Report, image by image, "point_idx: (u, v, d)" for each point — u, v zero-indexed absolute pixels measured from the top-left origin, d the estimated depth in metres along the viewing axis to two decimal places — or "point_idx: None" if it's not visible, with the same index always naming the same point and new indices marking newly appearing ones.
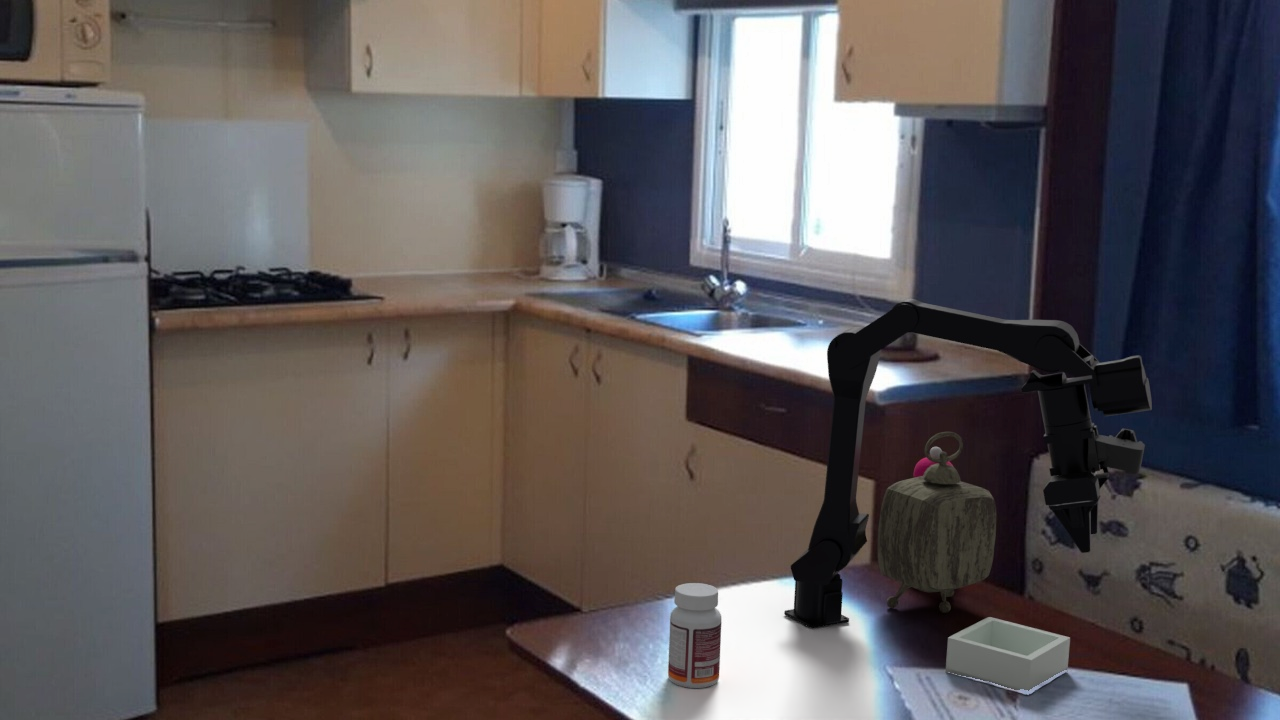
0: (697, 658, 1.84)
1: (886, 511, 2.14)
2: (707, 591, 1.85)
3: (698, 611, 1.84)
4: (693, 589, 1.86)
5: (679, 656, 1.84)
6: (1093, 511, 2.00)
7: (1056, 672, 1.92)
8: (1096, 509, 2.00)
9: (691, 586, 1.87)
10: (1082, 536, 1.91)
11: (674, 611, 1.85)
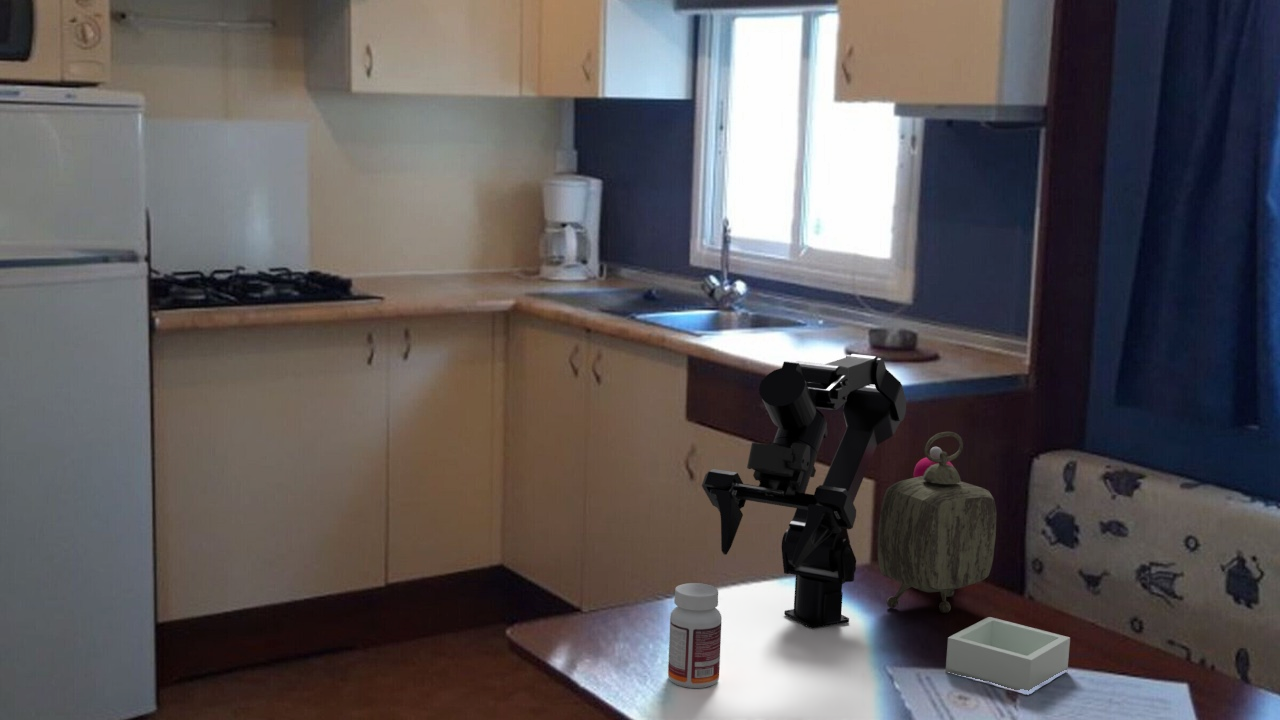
0: (697, 658, 1.84)
1: (886, 511, 2.14)
2: (707, 591, 1.85)
3: (698, 611, 1.84)
4: (693, 589, 1.86)
5: (679, 656, 1.84)
6: None
7: (1056, 672, 1.92)
8: (799, 539, 1.88)
9: (691, 586, 1.87)
10: None
11: (674, 611, 1.85)
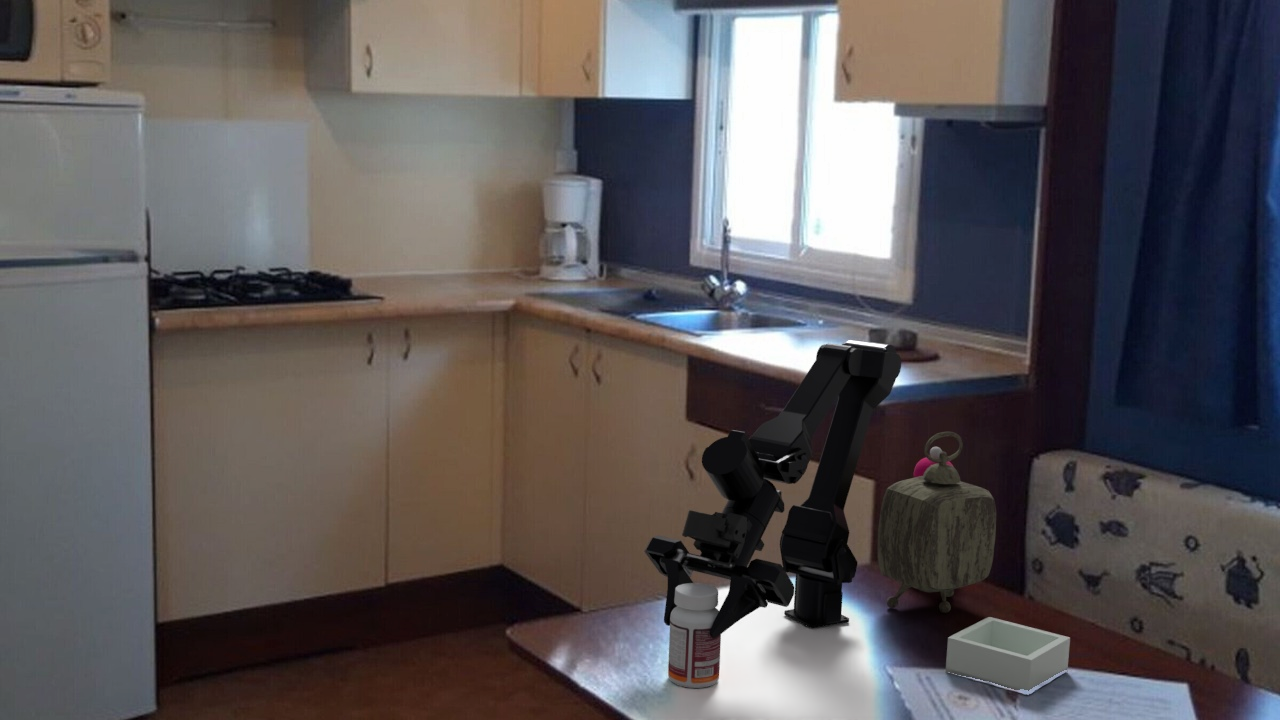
0: (697, 658, 1.84)
1: (886, 511, 2.14)
2: (707, 590, 1.85)
3: (698, 611, 1.84)
4: (693, 589, 1.86)
5: (679, 655, 1.84)
6: None
7: (1056, 672, 1.92)
8: (720, 609, 1.84)
9: (691, 586, 1.87)
10: None
11: (674, 611, 1.85)
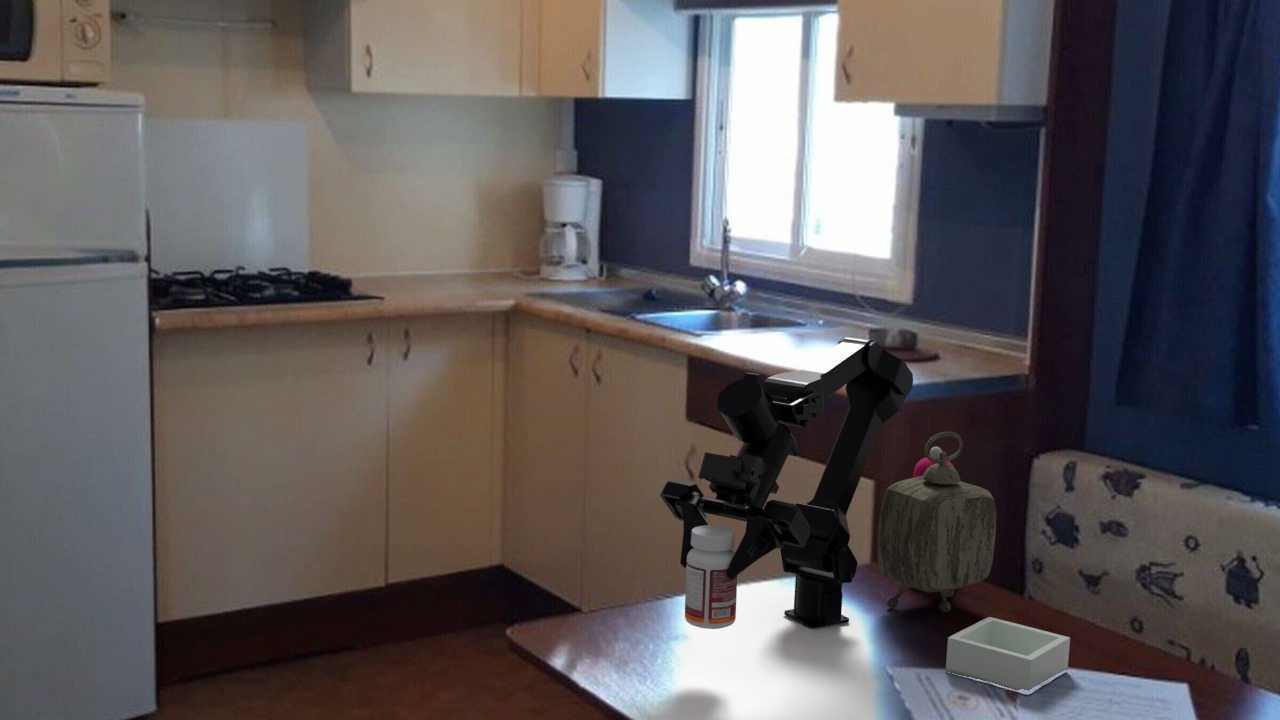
0: (714, 599, 1.85)
1: (886, 511, 2.14)
2: (723, 532, 1.86)
3: (715, 552, 1.84)
4: (709, 530, 1.86)
5: (696, 597, 1.85)
6: None
7: (1056, 672, 1.92)
8: None
9: (707, 528, 1.87)
10: None
11: (691, 552, 1.86)
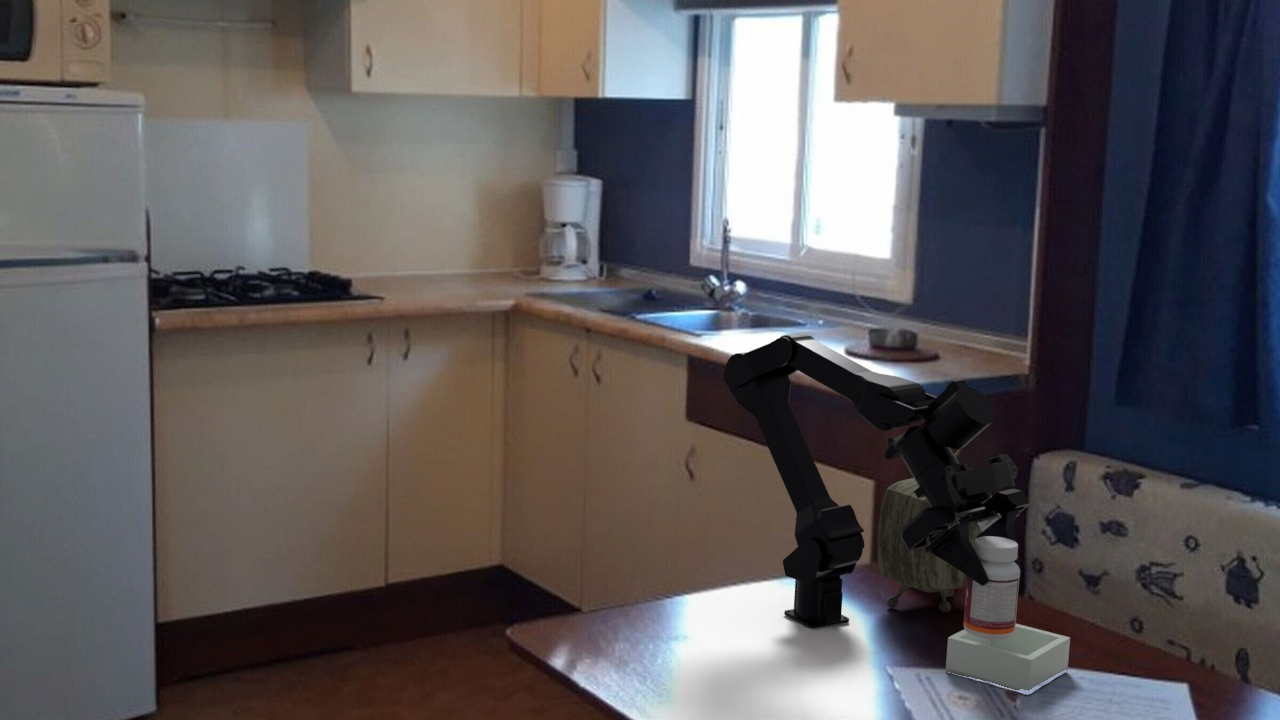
0: None
1: (886, 511, 2.14)
2: (999, 540, 1.89)
3: None
4: (994, 543, 1.87)
5: (1012, 608, 1.86)
6: None
7: (1056, 672, 1.92)
8: None
9: (986, 542, 1.87)
10: (972, 568, 1.86)
11: (998, 569, 1.85)
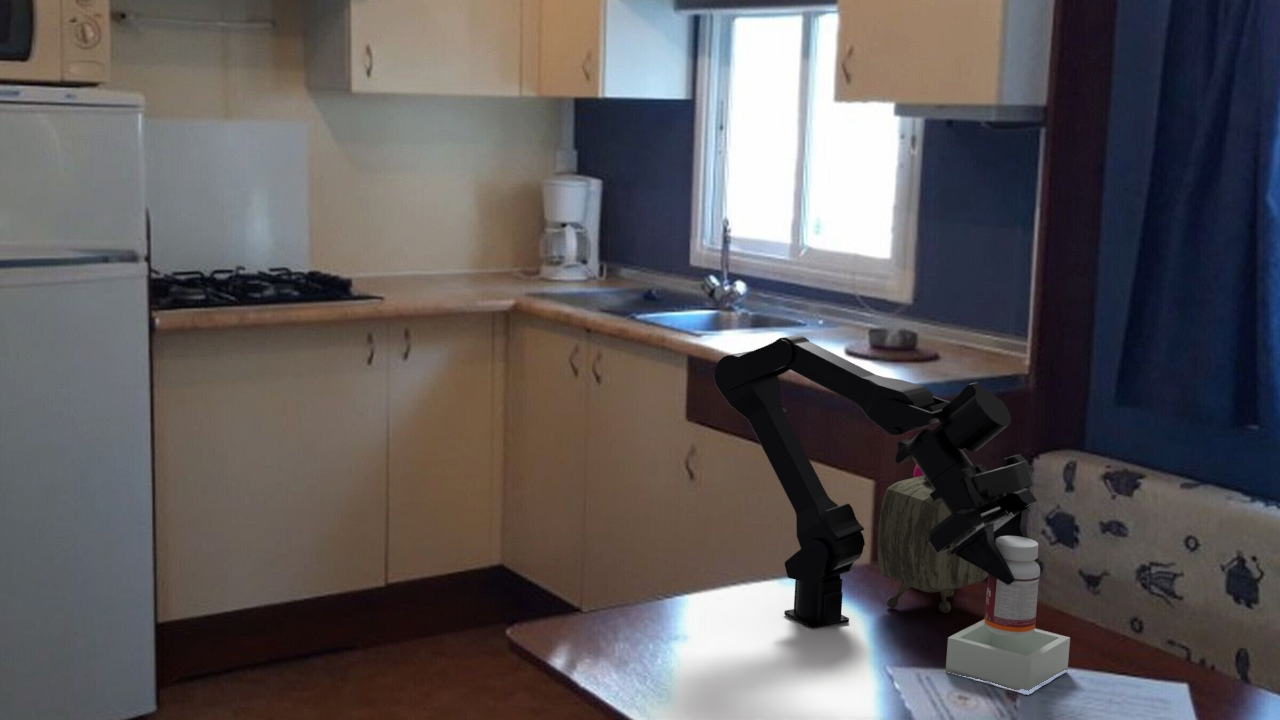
0: None
1: (886, 511, 2.14)
2: (1017, 539, 1.92)
3: None
4: (1016, 542, 1.91)
5: (1034, 605, 1.90)
6: None
7: (1056, 672, 1.92)
8: None
9: (1008, 542, 1.90)
10: (998, 568, 1.88)
11: (1023, 568, 1.89)
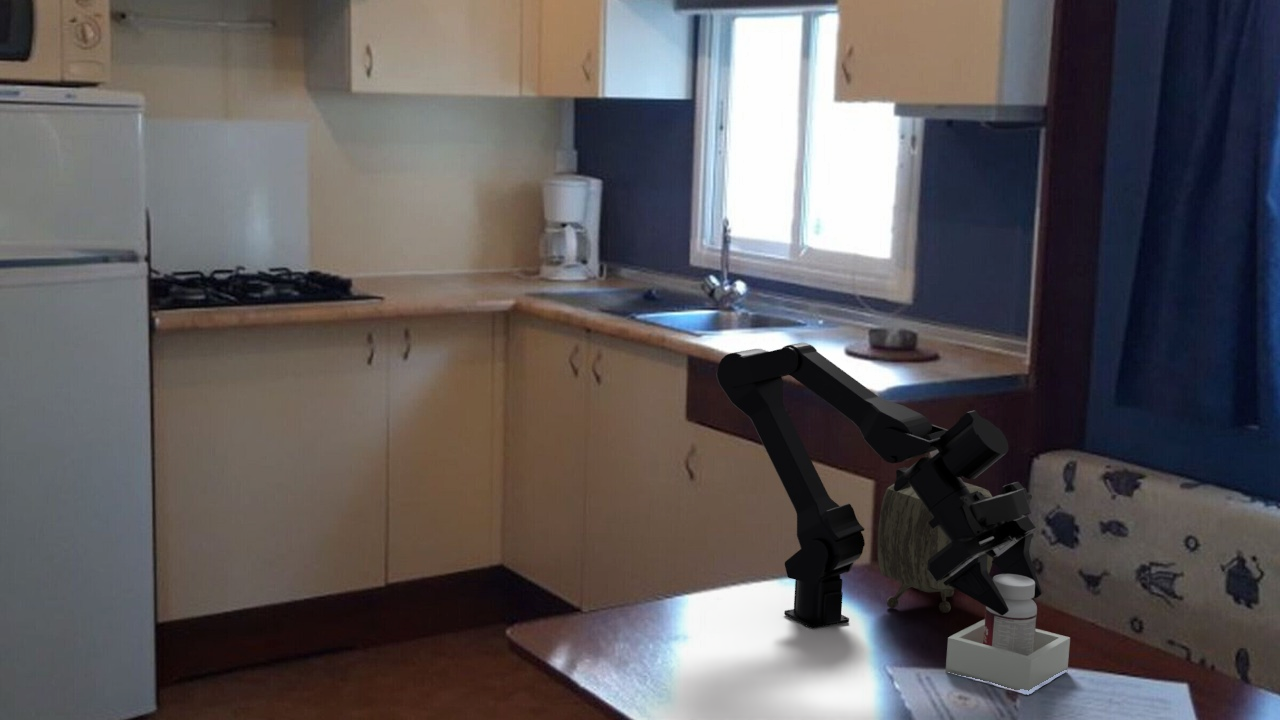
0: None
1: (886, 511, 2.14)
2: (1014, 577, 1.93)
3: None
4: (1012, 581, 1.91)
5: (1031, 644, 1.91)
6: (1028, 574, 1.96)
7: (1056, 672, 1.92)
8: (1029, 571, 1.95)
9: (1005, 581, 1.91)
10: (991, 599, 1.88)
11: (1020, 607, 1.90)
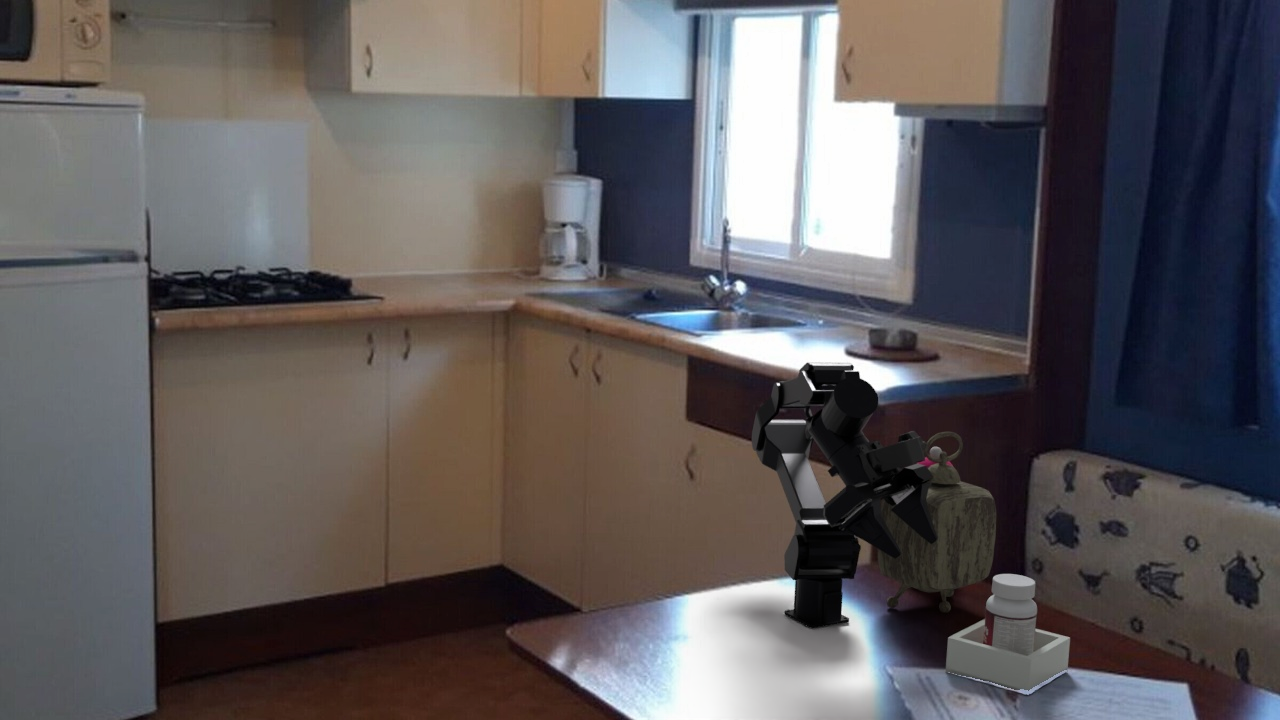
0: None
1: (886, 511, 2.14)
2: (1014, 577, 1.93)
3: None
4: (1013, 581, 1.91)
5: (1031, 644, 1.91)
6: (924, 521, 2.02)
7: (1056, 672, 1.92)
8: (926, 518, 2.01)
9: (1005, 581, 1.91)
10: (885, 543, 1.94)
11: (1020, 607, 1.90)
